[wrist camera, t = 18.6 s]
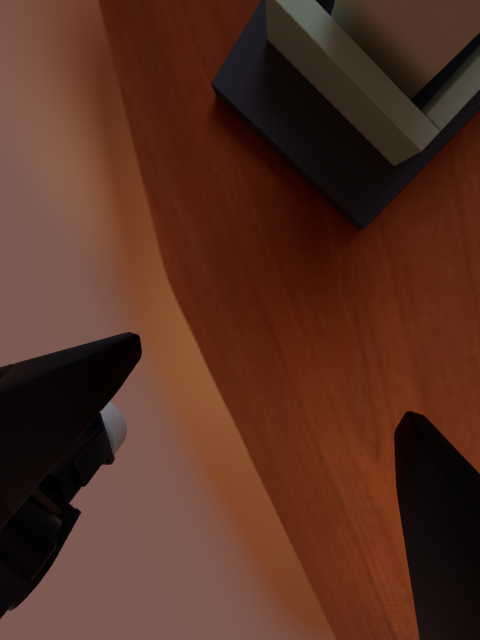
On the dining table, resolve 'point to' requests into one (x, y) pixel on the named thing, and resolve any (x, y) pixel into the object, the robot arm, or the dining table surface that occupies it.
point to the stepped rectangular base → (341, 105)
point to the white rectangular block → (409, 35)
